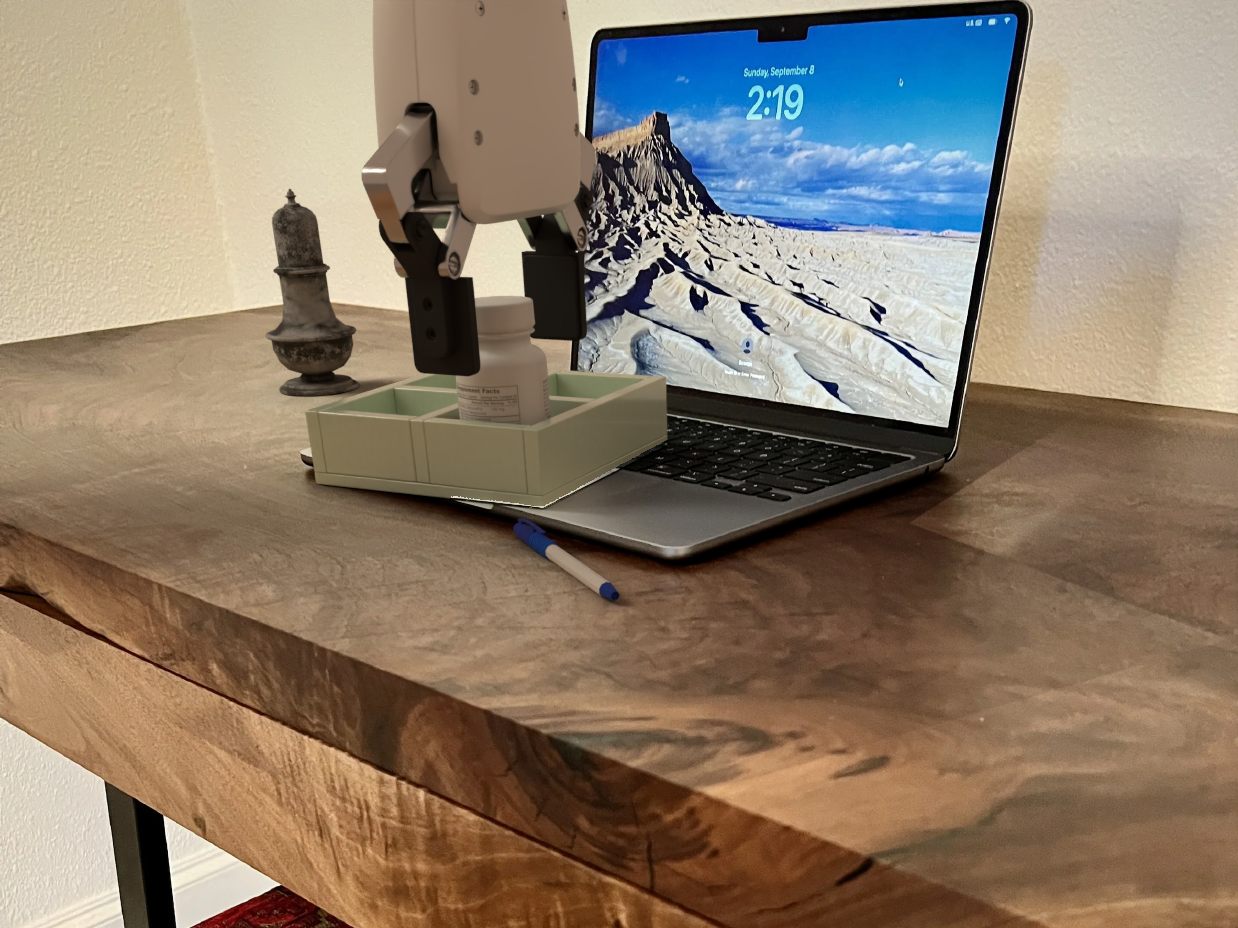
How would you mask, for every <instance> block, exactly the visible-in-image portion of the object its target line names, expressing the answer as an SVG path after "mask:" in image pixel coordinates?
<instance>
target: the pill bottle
mask: <svg viewBox="0 0 1238 928" xmlns="http://www.w3.org/2000/svg"><path fill="white" fill-rule="evenodd" d="M475 307H476V319H477V330H478V342H479V353H480V371H479V372H478V373H477V374H475V375H472V376H456V386H457V395H458V406H459V416H460V420H469V421H481V422H494V423H506V424H518V425H530V426H532V425H535V424H537V423H540V422H542V421H545V420H547V419H550V418H551V415H550V400H549V386H548V370H547V369H548V362H547V356H546V353H545V351H544V350H543V349H542V348H540V347H539V346H538V345H535V344H533V343H532V341H531V340H532V339H531V337H530V334H531V333H533V332H534V331H535V329H534V328H533V326H534V325H535V319H534V307H533V300H532V299H531V298H528V297H525V296H522V295H492V296H481V297H480V296H479V297H475Z"/></svg>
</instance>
